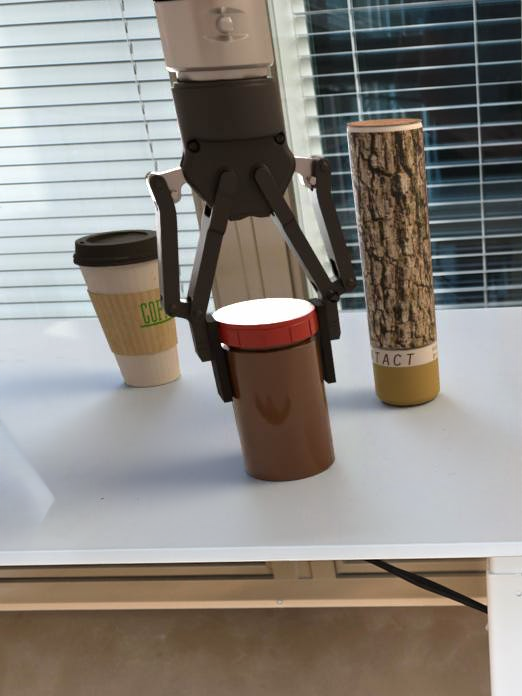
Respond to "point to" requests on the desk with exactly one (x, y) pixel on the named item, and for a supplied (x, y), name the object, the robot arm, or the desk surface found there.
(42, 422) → the desk surface
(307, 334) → the lid
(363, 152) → the paper tube
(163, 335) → the coffee cup
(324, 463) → the jar
